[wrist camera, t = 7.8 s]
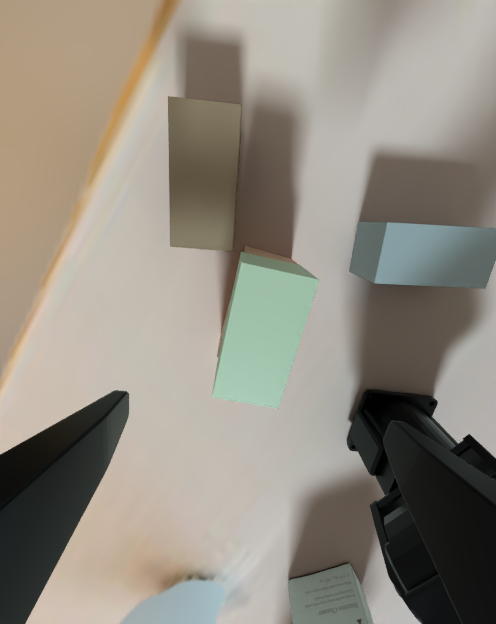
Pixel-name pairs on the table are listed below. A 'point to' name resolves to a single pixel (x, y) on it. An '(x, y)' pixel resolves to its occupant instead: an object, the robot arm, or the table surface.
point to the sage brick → (262, 329)
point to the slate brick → (424, 254)
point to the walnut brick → (203, 172)
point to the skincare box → (329, 598)
